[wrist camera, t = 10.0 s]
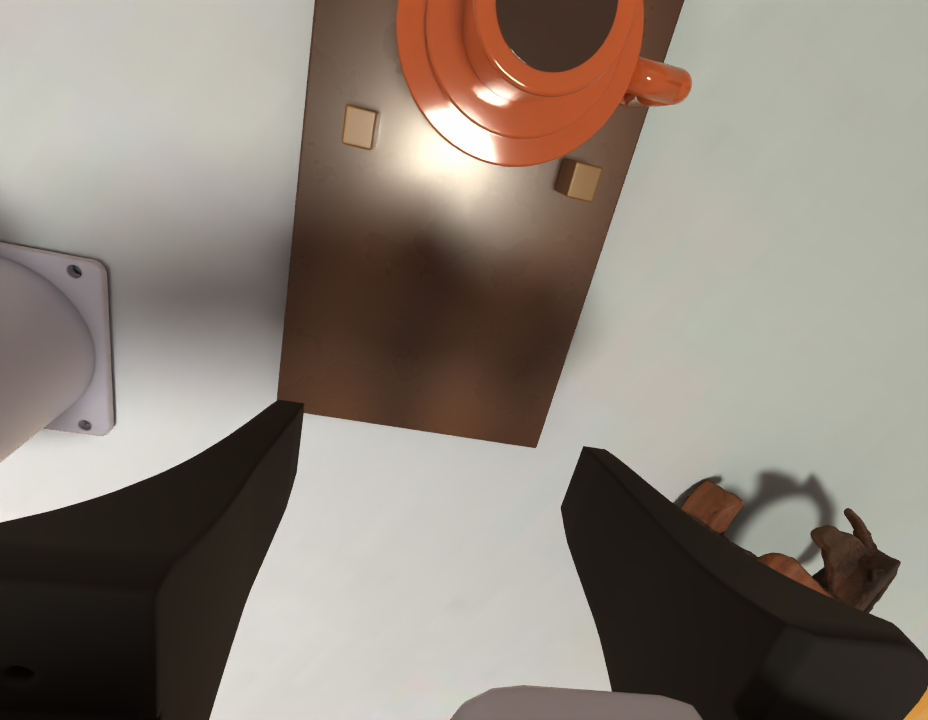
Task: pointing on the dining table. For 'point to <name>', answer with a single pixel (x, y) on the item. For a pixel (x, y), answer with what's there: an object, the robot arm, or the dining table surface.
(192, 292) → the dining table surface
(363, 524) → the dining table surface
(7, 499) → the dining table surface
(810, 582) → the brown arched frame
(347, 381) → the stand
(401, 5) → the jug
